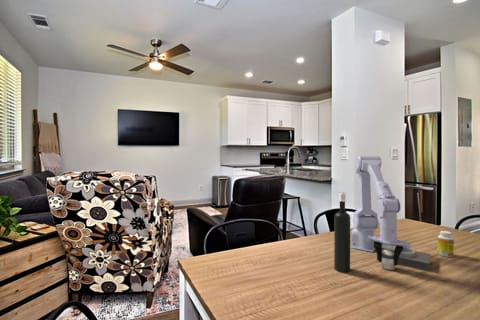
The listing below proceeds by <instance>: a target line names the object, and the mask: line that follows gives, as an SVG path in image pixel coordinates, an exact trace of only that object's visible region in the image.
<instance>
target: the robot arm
mask: <svg viewBox="0 0 480 320" xmlns="http://www.w3.org/2000/svg"><path fill="white" fill-rule="evenodd" d="M382 164H383V163H382V158H381V156H379V155H357V156H356V158H355V160H354V170H355V171H354V172H355V173H356V174H357V175H358V189H359V208H358V209H357V210H356V211H354V212H353V219H352V222H353V228H352V230H351V246H350V249H355V250H359V251H365V252H370V253H374V251H375V252H376V256H377V255H378V258H379V260H378V262H379V263H381V252H382V244H387V245H392V246H394V247H395V267H397V266H398V264H397V263H398V258H399V256H400V254H401V252H402V250H403V248H407V249H411V246H412V245H411V242H409V241H408V242H407V241H405V240H404V241H403V240H400V239H397V237H398V233H397V232H398V214H399V213H400V211H401V202H400V199H399V198H398V197H396V195H393V192H392V190H391V187H390V186H389V183H387V182H384V181H385V180H384V178H383V175H382V171H381V167H382ZM371 180H372V181H373V183H374V185H373V191H374V193H375V196H376V198H377V205H376V206H377V209H378V213H377V212H375V210H373V209H372V196H371V195H372V193H371V192H372V189H371V188H372V187H371ZM378 216H379V218H378ZM379 220H380V221H379ZM377 229H379V236H375V231H376V230H377Z"/></svg>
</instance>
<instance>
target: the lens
mask: <svg viewBox="0 0 480 320" xmlns="http://www.w3.org/2000/svg"><path fill="white" fill-rule="evenodd" d="M380 263H381V268H382V269H385V270H391V271H394V270H395V269H396V266H395V250H394V249H392V248H387V247H383V248H382V252H381V262H380Z"/></svg>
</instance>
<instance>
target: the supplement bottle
mask: <svg viewBox="0 0 480 320" xmlns="http://www.w3.org/2000/svg"><path fill="white" fill-rule="evenodd" d="M454 243H455V238H454V237H453V235H452V232H451V231H448V230H441V231H440V232H439V235H437V254H438V255H439V256H442V257H446V258H452V257H454V253H455V252H454V250H455V249H454V248H455V245H454Z"/></svg>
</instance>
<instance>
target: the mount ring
mask: <svg viewBox="0 0 480 320" xmlns="http://www.w3.org/2000/svg"><path fill="white" fill-rule="evenodd" d="M395 247H396V246H394V247H393V249H394V250H395ZM402 251H406V252H409V253H405V252H401V254H400V256H403V257H414V256H415V251H416V250H414V249H412V248H410V249H407V248H403V250H402Z"/></svg>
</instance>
